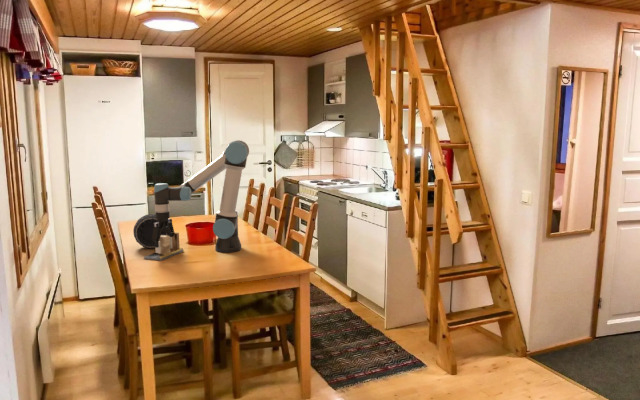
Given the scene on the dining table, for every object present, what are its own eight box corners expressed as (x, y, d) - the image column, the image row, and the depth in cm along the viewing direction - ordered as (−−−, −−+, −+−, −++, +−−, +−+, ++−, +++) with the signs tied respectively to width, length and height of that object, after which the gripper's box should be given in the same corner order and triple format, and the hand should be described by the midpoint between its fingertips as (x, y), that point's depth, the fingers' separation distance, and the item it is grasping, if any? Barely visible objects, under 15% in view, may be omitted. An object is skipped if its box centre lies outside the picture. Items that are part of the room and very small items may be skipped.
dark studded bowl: (170, 248, 300) (168, 215, 296) (134, 251, 293) (132, 217, 290) (169, 244, 310) (167, 212, 306) (134, 246, 303) (132, 214, 300)
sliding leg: (170, 253, 283) (169, 235, 282) (166, 254, 279) (165, 237, 278) (158, 251, 286) (157, 234, 284) (153, 253, 282) (152, 236, 280)
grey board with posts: (183, 251, 293) (182, 232, 291) (161, 260, 273) (160, 240, 271) (167, 249, 296) (166, 231, 294) (144, 259, 277) (143, 239, 275)
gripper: (168, 207, 290) (170, 245, 294) (143, 214, 269) (145, 255, 272) (180, 208, 288) (181, 246, 291) (155, 215, 266) (157, 256, 270)
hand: (164, 250), depth 282 cm, fingers open, 10 cm apart
